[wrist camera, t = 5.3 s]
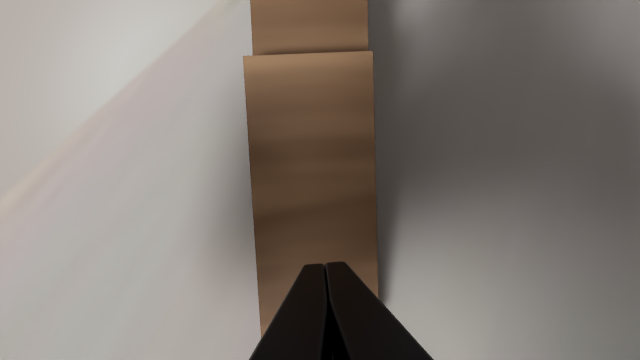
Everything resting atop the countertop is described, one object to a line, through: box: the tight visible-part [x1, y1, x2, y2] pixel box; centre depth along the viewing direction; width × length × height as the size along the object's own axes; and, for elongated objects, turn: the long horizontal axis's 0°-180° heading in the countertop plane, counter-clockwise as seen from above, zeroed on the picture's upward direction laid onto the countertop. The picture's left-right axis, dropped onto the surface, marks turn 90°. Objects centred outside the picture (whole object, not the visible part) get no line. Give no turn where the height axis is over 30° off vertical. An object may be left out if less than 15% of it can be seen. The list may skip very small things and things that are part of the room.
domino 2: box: [250, 0, 368, 56], centre depth 15 cm, size 2×4×10 cm
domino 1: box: [243, 51, 378, 338], centre depth 14 cm, size 2×4×10 cm
